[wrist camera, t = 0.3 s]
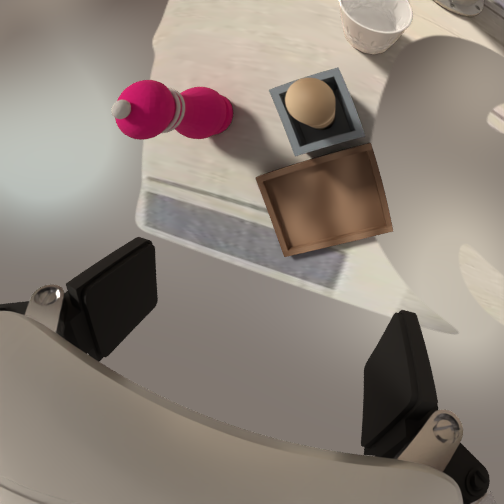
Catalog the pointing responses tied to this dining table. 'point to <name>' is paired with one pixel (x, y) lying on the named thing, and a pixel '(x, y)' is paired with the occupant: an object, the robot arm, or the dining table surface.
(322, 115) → the dowel
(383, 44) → the white cup
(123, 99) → the pepper mill
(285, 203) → the tray
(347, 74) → the dining table surface
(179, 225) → the dining table surface
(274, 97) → the grey hollow box
